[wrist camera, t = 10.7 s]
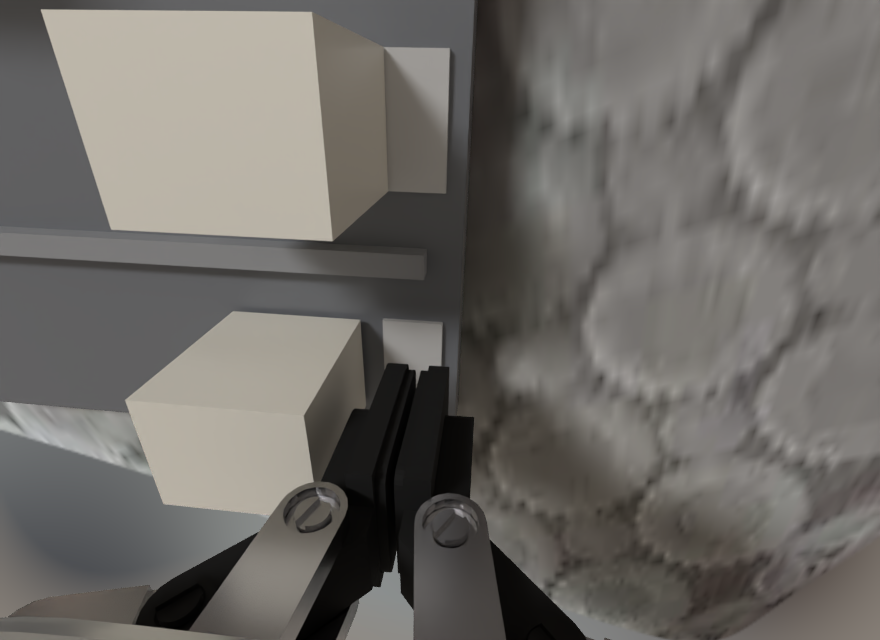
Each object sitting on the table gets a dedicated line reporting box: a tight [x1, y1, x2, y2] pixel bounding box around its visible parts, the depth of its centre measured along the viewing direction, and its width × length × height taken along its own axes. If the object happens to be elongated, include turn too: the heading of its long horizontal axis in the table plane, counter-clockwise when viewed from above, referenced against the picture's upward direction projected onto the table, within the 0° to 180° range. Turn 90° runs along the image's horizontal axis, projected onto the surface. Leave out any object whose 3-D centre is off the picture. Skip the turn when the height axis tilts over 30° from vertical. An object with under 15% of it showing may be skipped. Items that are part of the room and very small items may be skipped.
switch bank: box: [0, 0, 478, 416], centre depth 12 cm, size 20×20×3 cm
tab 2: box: [125, 311, 366, 515], centre depth 12 cm, size 4×3×4 cm
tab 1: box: [41, 9, 388, 241], centre depth 9 cm, size 4×3×4 cm
